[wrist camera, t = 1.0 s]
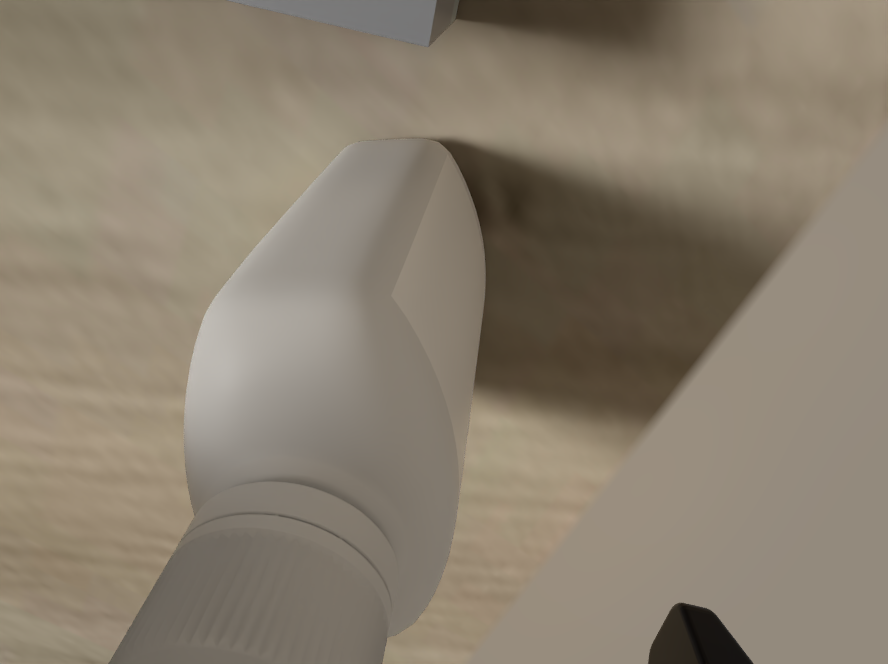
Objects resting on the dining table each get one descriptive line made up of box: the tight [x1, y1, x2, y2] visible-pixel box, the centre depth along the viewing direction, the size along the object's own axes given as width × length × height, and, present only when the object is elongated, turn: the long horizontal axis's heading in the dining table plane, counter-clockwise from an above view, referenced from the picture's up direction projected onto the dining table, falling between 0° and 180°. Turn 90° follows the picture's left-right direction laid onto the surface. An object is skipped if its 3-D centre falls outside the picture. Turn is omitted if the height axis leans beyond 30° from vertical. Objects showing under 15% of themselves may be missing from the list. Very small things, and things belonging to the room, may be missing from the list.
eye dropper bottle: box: [109, 138, 486, 664], centre depth 10 cm, size 4×6×12 cm
